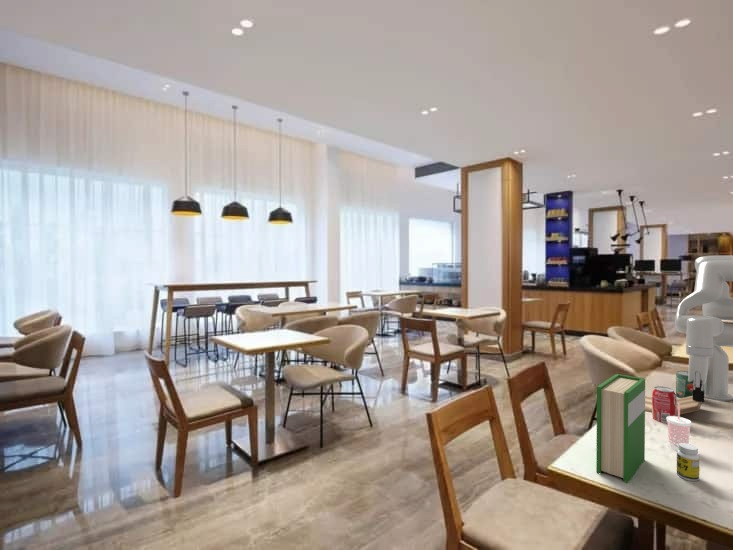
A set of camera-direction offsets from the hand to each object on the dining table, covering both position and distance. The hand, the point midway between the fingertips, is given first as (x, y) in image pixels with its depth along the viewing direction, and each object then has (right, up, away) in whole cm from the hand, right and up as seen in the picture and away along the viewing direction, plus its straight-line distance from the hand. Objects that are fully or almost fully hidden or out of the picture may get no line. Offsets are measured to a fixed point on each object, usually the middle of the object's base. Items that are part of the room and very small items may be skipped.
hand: (698, 400), depth 146 cm
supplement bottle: (-36, -8, -39) cm, 54 cm away
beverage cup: (-26, -8, -23) cm, 36 cm away
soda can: (-15, -7, -3) cm, 17 cm away
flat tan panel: (-8, -6, +11) cm, 15 cm away
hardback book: (-50, -8, -33) cm, 61 cm away
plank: (-1, -4, +4) cm, 5 cm away
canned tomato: (+12, -6, +20) cm, 24 cm away
